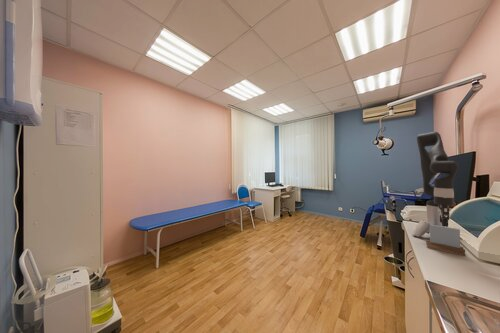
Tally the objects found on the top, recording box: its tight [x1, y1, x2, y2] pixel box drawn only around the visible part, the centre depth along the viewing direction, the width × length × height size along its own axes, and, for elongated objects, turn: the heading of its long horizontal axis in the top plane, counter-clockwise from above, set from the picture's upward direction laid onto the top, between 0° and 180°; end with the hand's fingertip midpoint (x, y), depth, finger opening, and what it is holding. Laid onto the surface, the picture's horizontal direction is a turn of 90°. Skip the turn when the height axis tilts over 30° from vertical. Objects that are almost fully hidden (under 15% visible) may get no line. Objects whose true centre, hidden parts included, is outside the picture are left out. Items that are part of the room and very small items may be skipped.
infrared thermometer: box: [412, 219, 431, 238], centre depth 112 cm, size 5×12×15 cm
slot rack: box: [425, 239, 466, 257], centre depth 95 cm, size 5×14×3 cm, turn 47°
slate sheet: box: [429, 225, 461, 248], centre depth 95 cm, size 2×11×13 cm, turn 47°
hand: (443, 224), depth 95 cm, fingers open, 8 cm apart
